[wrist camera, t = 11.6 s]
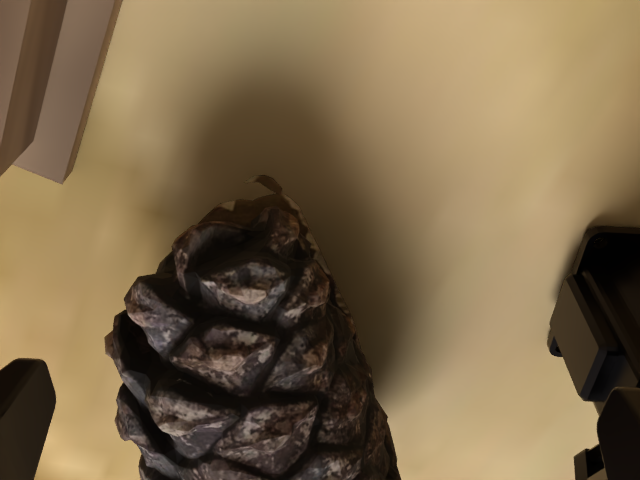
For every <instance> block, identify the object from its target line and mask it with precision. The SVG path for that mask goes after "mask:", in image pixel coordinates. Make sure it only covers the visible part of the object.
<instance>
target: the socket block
mask: <svg viewBox="0 0 640 480" xmlns="http://www.w3.org/2000/svg"><path fill="white" fill-rule="evenodd" d="M121 3H122V0H0V176H1V175H2V174H3V173H4V172H5V171H6V170H7V169H8V168H9V167H10V166H11V165H15V166H17V167H20V168H22V169H25V170H27V171H30V172H32V173H35V174H37V175H40V176H42V177H45V178H47V179H50V180H52V181H55V182H57V183H60V184H63V182H64V181H65V180H66V178H67V177H68V176H69V174H70V173H71V172H72V170H73V166H74V163H75V160H76V156H77V153H78V149H79V146H80V143H81V139H82V136H83V132H84V129H85V126H86V122H87V119H88V115H89V112H90V109H91V105H92V102H93V98H94V95H95V92H96V88H97V85H98V81H99V78H100V75H101V71H102V68H103V64H104V61H105V58H106V54H107V51H108V47H109V44H110V41H111V37H112V34H113V30H114V27H115V23H116V20H117V17H118V13H119V10H120V6H121Z"/></svg>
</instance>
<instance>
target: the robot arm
mask: <svg viewBox="0 0 640 480" xmlns="http://www.w3.org/2000/svg"><path fill="white" fill-rule="evenodd" d="M602 237H603V239H602V240H601V241H600V242H596V243H594V242H595V240H596V239H598V238H602ZM550 327H551V332H550V335H549V337H548V340H547V346H548V348H549V351H550V353H551V354H552V355H554V356H557V357H563V359H564V361H565V364H566V366H567V368H568V371H569V373H570V376H571V378H572V381H573V383H574V386H575V388H576V391H577V393H578V395H579V396H580V397H581V398H582V400H583V401H591V402H593V403H594V405H595V408H596V410H597V412H598V415H599V418H598V422H597V435H598V440H599V444H598V445H596V446H594V447H593V448H591V449H587V448H586V449H585V450H583V451H582V452H580V453H578V454H577V455H575V456H574V466H575V480H640V228H628V227H608V226H598V227H594V228H591V229H590V230H588V231H587V232H586V234H585V235H584V237H583V240H582V243H581V246H580V249H579V251H578V254H577V257H576V260H575V263H574V266H573V269H572V272H571V274H569V275H568V276H567V277H566V278H565V279H564V282H563V285H562V288H561V291H560V294H559V297H558V300H557V303H556V305H555V308H554V311H553V314H552V317H551V320H550ZM55 404H56V394H55V390H54V387H53V383H52V380H51V377H50V374H49V371H48V367H47V365H46V363H45V362H44V361H43V360H42V359H32V358H18V359H15V360H13V361H12V362H10V363H9V364H8V365H6V366H5V367H4V368H2V369H1V370H0V480H34V477H35V474H36V470H37V467H38V463H39V460H40V457H41V453H42V450H43V446H44V443H45V440H46V436H47V433H48V430H49V426H50V423H51V419H52V416H53V413H54V409H55Z"/></svg>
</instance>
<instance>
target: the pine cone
mask: <svg viewBox="0 0 640 480" xmlns="http://www.w3.org/2000/svg"><path fill="white" fill-rule="evenodd" d="M248 182H259V183H261V184H262V185H264V186H265V187H267V188H269V189H270V190H272V191H273V192H275V194H272V195H268V196H264V197H260V198H257V199H255V200H253V201H250V200H235V201H230V202H225V203H220V204H219V205H218V206H217V207H215V208H214V209H213V210H212V211H211V212H210V213H208V214H207V215H206V216H205V217H204V218H203V219H202V220H201V221H200V222H199V223H198V225H194V226H191V227H190V228H189V229H187V230H186V231H185V232H184V233H182V234H181V235H180V236H179V237H177V238H176V240H175V241H174V243H173V245H172V250H173V251H172V252H171V253H170V254H169V255H168V256H167V257H166V258H165V259H164V260H163V261H162V262H161V263H160V264H159V267H158V269H157V272H156V274H152V275H146V276H140V277H138V278H137V279H136V281H135V282H134V283H133V285H132V286H131V288H130V289H129V291H128V293H127V294H126V296H125V298H124V301H125V305H126V309H127V310H124V311H122V312H121V313H119V314H117V315H116V316H115V317H114V324H113V331H112V332H110V333H109V334H108V335H107V336H105V351H106V354H107V355H108V356H109V357H111V358H112V359H113V360H114V363H115V365H116V367H117V369H118V372H119V374H120V376H121V378H122V381H123V382H124V383H123V384H122V385H121V387H120V389H119V392H118V396H117V399H116V401H117V405H118V410H117V415H116V418H115V423H116V426H117V429H118V431H119V434H120V437H121V438H122V439H123V440H124V441H127V440H132V441H133V442H134V443H135V444H137V446H138V447H139V449H140V451H141V453H142V455H141V457H140V461H139V473H140V478H141V480H401V477H400V474H399V471H398V468H397V457H396V453H395V448H394V444H393V440H392V436H391V432H390V428H389V425H388V423H387V418H388V416H387V415H386V413H385V412H384V410H383V409H382V407H381V406H380V404H379V403H378V401H377V400H376V398H375V395H374V390H373V387H374V386H373V381H372V370H371V367H370V366H369V365H368V364H367V362H366V359H365V356H364V354H363V353H362V351H361V347H360V343H359V339H358V336H357V332H356V328H355V325H354V322H353V319H352V316H351V314H350V312H349V310H348V308H347V306H346V304H345V302H344V300H343V298H342V296H341V294H340V292H339V290H338V288H337V286H336V283H335V281H334V279H333V277H332V275H331V273H330V271H329V269H328V266H327V264H326V262H325V260H324V258H323V256H322V254H321V252H320V250H319V248H318V246H317V243H316V241H315V240H314V238H313V236H312V234H311V231H310V229H309V227H308V225H307V222H306V220H305V218H304V216H303V214H302V212H301V210H300V207H299V206H298V205H297V204H296V203H295V202H294V201H293V200H292V199H290V198H289V197H288V196H285V195H282V188H281V187H280V186H279V185H278V184H277V183H276V182H275V181H274V179H273V178H270V177H268V176H265V175H260V176H253V177H252V178H250V179H249V180H247V181H246V182H244V183H248Z"/></svg>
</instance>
